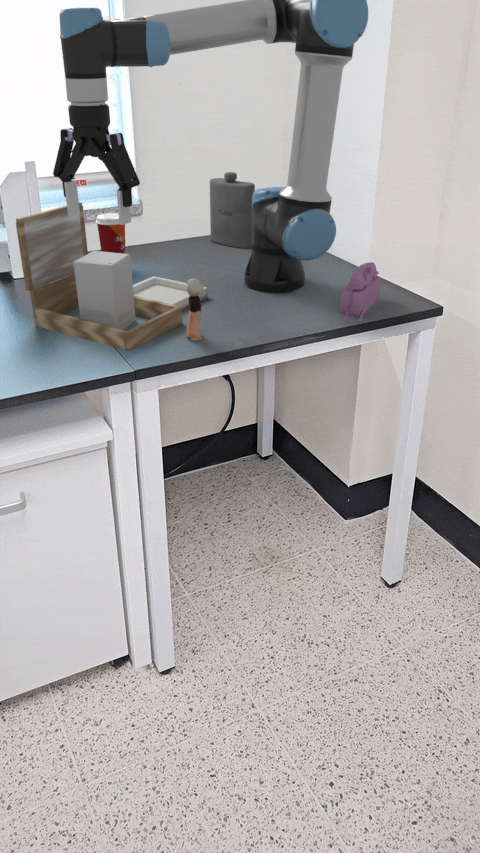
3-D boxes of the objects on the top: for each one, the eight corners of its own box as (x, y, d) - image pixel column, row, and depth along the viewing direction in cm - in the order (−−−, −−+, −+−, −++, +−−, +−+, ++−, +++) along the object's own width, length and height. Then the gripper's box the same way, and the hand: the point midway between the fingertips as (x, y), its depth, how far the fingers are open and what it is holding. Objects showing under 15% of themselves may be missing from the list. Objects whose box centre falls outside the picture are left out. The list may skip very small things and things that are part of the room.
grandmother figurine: (180, 333, 151) (177, 274, 145) (197, 330, 153) (195, 272, 147) (193, 346, 145) (191, 286, 139) (210, 343, 147) (209, 283, 140)
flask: (205, 241, 214) (203, 171, 204) (217, 237, 218) (217, 168, 208) (245, 250, 206) (245, 177, 196) (257, 245, 210) (258, 174, 200)
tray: (207, 297, 171) (207, 287, 170) (166, 318, 159) (166, 307, 158) (154, 286, 178) (153, 276, 177) (111, 304, 167) (110, 294, 165)
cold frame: (182, 323, 156) (178, 218, 145) (128, 352, 143) (118, 238, 131) (89, 301, 169) (79, 202, 158) (31, 325, 155) (15, 219, 144)
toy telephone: (357, 296, 172) (360, 255, 168) (383, 300, 170) (387, 258, 165) (330, 320, 159) (334, 276, 154) (358, 325, 156) (362, 280, 151)
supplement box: (137, 320, 158) (132, 253, 150) (118, 335, 151) (112, 265, 143) (100, 315, 160) (93, 249, 153) (80, 330, 153) (72, 260, 146)
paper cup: (127, 274, 186) (123, 219, 180) (97, 274, 187) (92, 219, 180) (131, 265, 193) (127, 212, 186) (103, 265, 193) (98, 212, 186)
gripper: (153, 105, 131) (160, 223, 141) (54, 98, 142) (66, 207, 153) (127, 109, 125) (135, 231, 136) (25, 101, 137) (40, 214, 147)
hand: (99, 218), depth 144 cm, fingers open, 13 cm apart
